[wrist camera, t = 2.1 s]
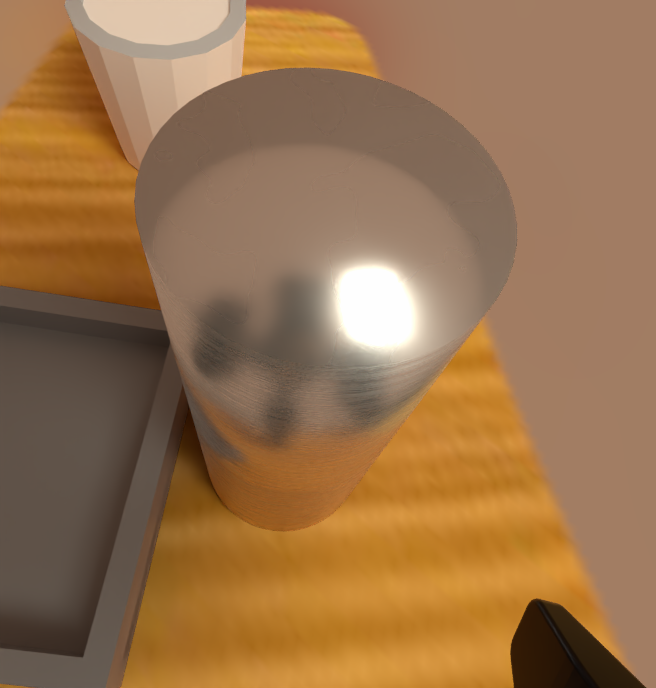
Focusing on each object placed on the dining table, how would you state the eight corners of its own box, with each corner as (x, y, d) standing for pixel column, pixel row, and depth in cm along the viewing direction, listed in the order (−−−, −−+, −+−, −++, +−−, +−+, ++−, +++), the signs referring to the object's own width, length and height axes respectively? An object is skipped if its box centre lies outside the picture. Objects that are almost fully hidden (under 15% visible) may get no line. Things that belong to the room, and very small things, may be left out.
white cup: (76, 150, 26) (21, 3, 20) (165, 75, 29) (142, -72, 23) (195, 215, 25) (176, 83, 19) (273, 131, 28) (280, -6, 22)
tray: (120, 686, 17) (103, 694, 15) (-214, 649, 16) (-278, 652, 14) (204, 343, 22) (199, 316, 20) (-42, 305, 22) (-71, 274, 20)
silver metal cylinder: (353, 541, 19) (530, 398, 7) (191, 519, 19) (79, 329, 7) (365, 392, 22) (508, 100, 10) (223, 371, 22) (186, 41, 9)
